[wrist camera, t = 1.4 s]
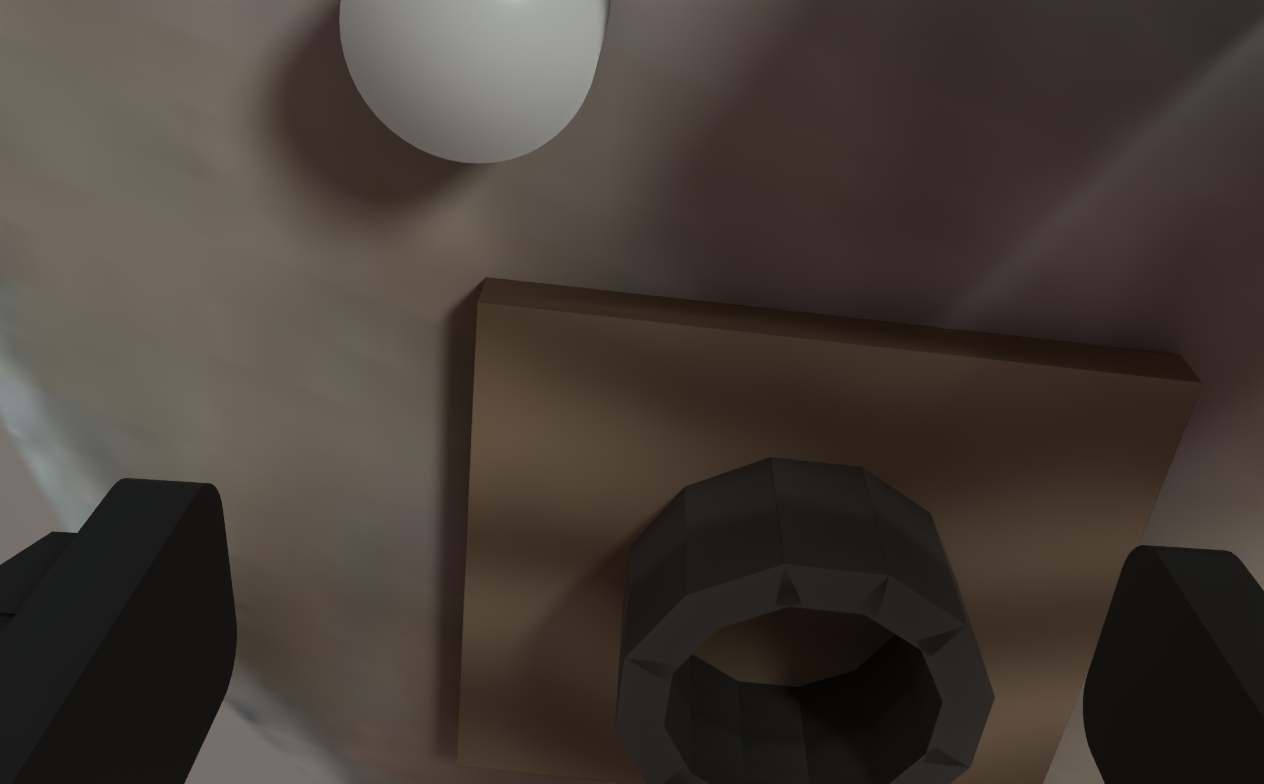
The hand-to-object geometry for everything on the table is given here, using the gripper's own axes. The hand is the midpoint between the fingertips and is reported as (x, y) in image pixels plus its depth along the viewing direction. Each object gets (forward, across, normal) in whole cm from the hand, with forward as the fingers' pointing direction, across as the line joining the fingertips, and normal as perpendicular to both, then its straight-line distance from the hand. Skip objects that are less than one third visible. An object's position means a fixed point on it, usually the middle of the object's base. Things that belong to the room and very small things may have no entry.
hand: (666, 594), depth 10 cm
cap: (+19, +4, -2) cm, 19 cm away
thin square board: (+19, -5, +14) cm, 24 cm away
